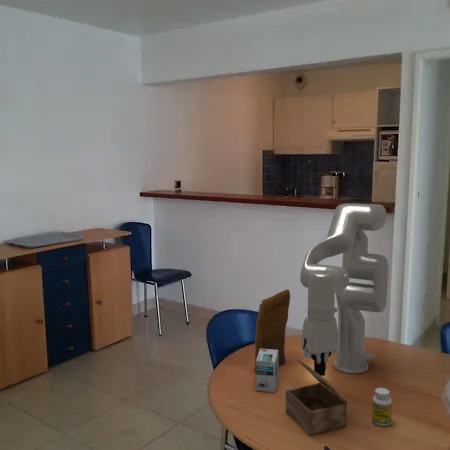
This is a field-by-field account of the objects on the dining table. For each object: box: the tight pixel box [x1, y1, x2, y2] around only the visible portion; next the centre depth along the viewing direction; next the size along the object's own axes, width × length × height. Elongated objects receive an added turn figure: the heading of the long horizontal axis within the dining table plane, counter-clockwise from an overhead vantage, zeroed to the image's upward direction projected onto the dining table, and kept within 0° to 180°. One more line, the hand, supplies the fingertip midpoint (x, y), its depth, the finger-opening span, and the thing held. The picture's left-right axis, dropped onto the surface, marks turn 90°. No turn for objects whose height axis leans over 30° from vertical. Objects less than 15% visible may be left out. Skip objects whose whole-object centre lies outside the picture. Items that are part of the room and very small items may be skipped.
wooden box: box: [285, 382, 348, 437], centre depth 145 cm, size 12×14×7 cm
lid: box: [296, 358, 349, 404], centre depth 144 cm, size 12×14×1 cm
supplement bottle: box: [371, 387, 393, 427], centre depth 143 cm, size 5×5×10 cm
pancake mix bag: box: [254, 288, 291, 373], centre depth 179 cm, size 7×19×28 cm, turn 132°
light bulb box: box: [255, 349, 280, 393], centre depth 166 cm, size 11×7×11 cm, turn 168°
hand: (319, 374), depth 143 cm, fingers closed
